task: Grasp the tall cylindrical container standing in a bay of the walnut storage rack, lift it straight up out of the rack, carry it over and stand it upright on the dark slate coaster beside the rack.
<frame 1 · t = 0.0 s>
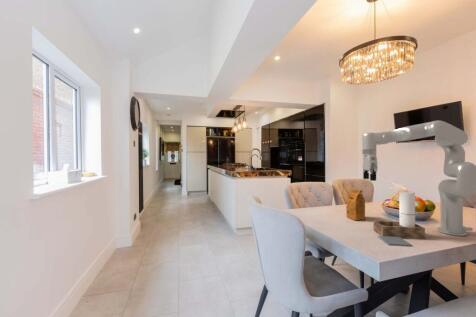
hand: (369, 179, 135), 31 cm above the table, tool pointing down, fingers open, 9 cm apart
storage rack: (397, 234, 126), on the table
slate coaster: (394, 241, 116), on the table
coffee package: (355, 218, 159), on the table
cylindrical container: (407, 235, 125), resting in storage rack
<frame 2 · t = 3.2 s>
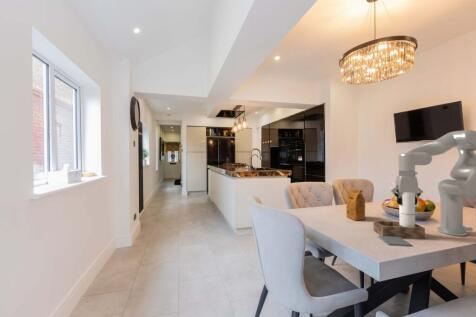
hand: (407, 204, 125), 18 cm above the table, tool pointing down, fingers closed on cylindrical container, 7 cm apart
cylindrical container: (407, 235, 125), resting in storage rack, touching gripper
everything else where it was.
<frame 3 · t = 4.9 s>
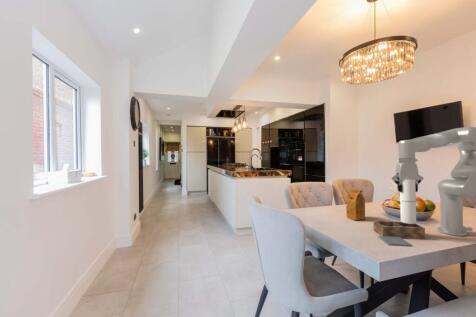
hand: (407, 191, 125), 25 cm above the table, tool pointing down, fingers closed on cylindrical container, 7 cm apart
cylindrical container: (408, 222, 125), point 7 cm above the table, touching gripper
everything else where it was.
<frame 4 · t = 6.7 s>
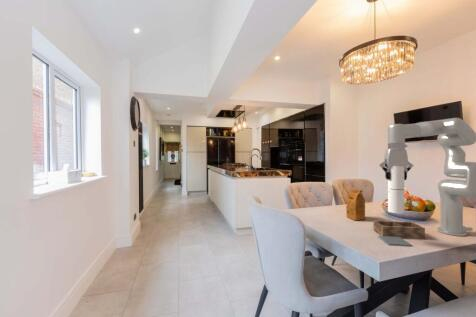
hand: (396, 179, 117), 33 cm above the table, tool pointing down, fingers closed on cylindrical container, 7 cm apart
cylindrical container: (395, 212, 117), point 15 cm above the table, touching gripper
everything else where it was.
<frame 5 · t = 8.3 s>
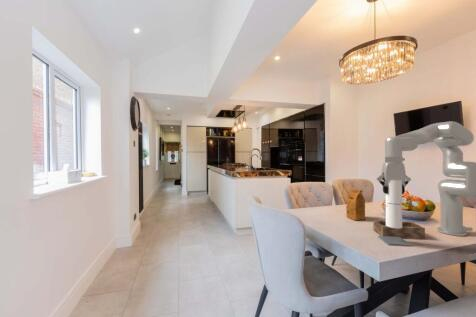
hand: (393, 193, 115), 26 cm above the table, tool pointing down, fingers closed on cylindrical container, 7 cm apart
cylindrical container: (393, 226, 116), point 8 cm above the table, touching gripper
everything else where it was.
when the fingers open (20 cm above the table, at t = 10.0 s): cylindrical container drops 1 cm, resting on slate coaster.
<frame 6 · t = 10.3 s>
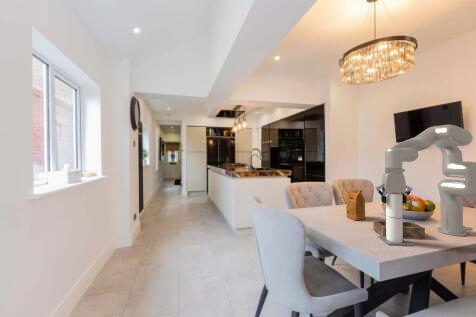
hand: (393, 203, 116), 21 cm above the table, tool pointing down, fingers open, 9 cm apart
cylindrical container: (394, 240, 116), point 1 cm above the table, touching slate coaster
everything else where it was.
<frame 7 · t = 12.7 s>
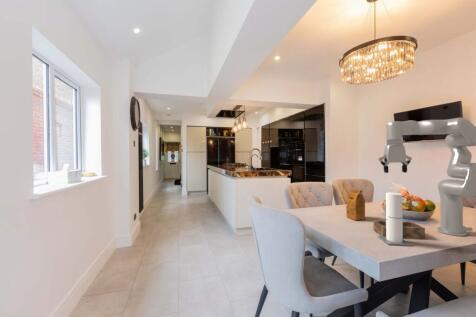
hand: (395, 172, 125), 36 cm above the table, tool pointing down, fingers open, 9 cm apart
nothing on the table moved.
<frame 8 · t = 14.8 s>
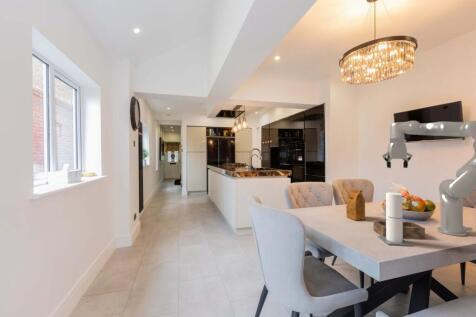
hand: (397, 167, 140), 38 cm above the table, tool pointing down, fingers open, 9 cm apart
nothing on the table moved.
at the end: cylindrical container 0.3 cm off-centre on the slate coaster, point 0.6 cm above the slate coaster's base; cylindrical container tilted 0°; the gripper is holding nothing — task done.
